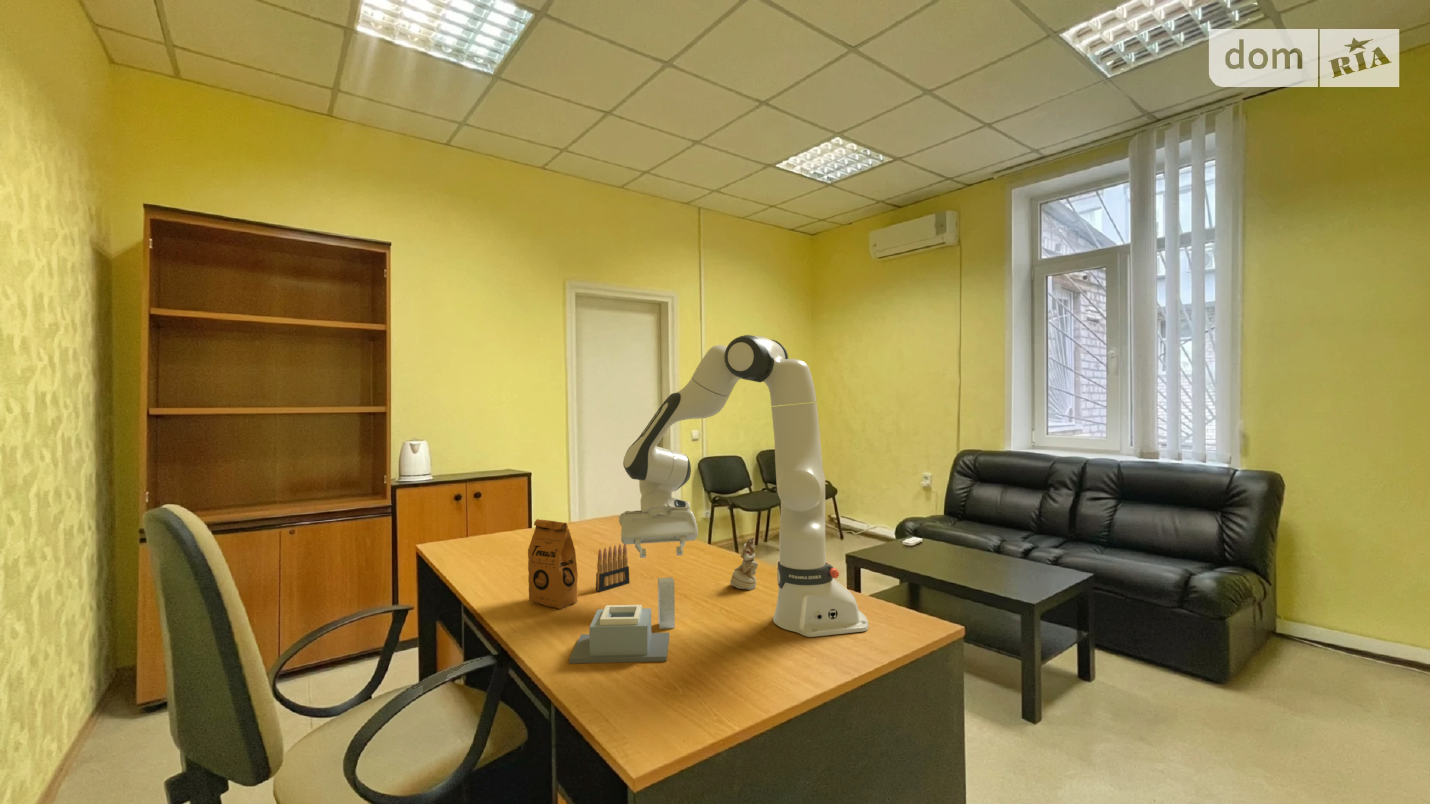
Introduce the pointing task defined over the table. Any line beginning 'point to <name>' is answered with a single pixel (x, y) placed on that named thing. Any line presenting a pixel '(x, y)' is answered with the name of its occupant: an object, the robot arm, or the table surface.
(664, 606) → the shaft
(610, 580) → the ammunition clip
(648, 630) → the block
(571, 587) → the coffee package
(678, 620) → the table surface
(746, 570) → the figurine
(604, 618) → the frame
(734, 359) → the robot arm
